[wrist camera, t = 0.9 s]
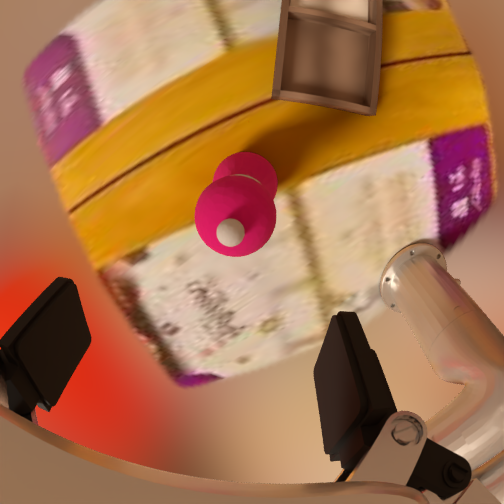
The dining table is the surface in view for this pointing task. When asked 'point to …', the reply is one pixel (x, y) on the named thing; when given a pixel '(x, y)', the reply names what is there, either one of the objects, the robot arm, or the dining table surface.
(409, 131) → the dining table surface
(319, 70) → the caddy
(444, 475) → the robot arm
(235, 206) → the pepper mill
